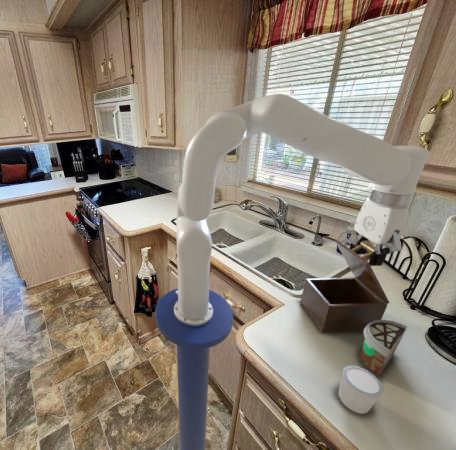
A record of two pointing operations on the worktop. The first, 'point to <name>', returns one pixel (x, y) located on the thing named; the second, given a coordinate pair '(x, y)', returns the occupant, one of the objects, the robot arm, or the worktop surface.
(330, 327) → the chest
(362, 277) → the chest lid
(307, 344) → the worktop surface
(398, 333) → the food container
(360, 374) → the white tapered cup
